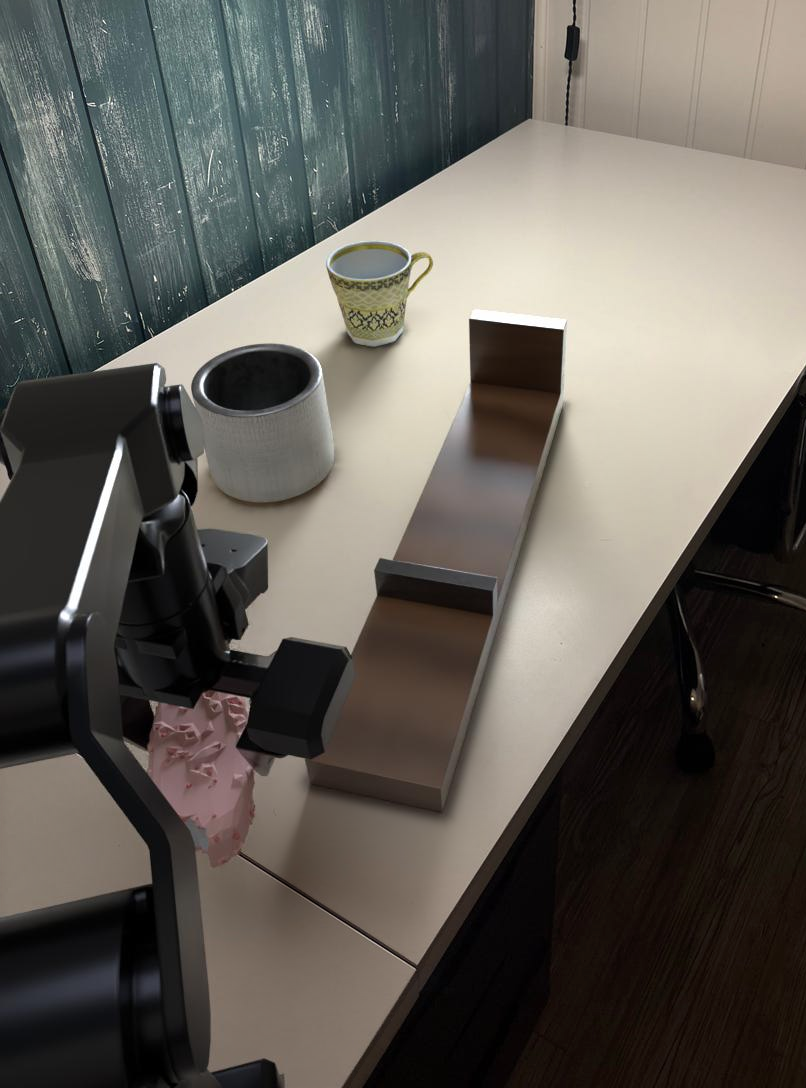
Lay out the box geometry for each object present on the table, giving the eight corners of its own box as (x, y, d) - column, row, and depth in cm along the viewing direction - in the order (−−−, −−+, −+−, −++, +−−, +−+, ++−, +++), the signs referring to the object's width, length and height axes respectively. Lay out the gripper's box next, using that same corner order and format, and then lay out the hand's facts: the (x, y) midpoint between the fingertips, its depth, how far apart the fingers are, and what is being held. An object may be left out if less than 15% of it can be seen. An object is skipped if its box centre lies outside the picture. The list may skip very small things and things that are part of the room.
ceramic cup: (349, 362, 112) (341, 287, 106) (324, 322, 119) (315, 250, 113) (450, 337, 116) (448, 263, 110) (420, 300, 123) (416, 229, 117)
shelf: (442, 812, 67) (435, 719, 60) (310, 783, 69) (288, 689, 62) (562, 405, 105) (567, 319, 98) (475, 394, 107) (473, 309, 100)
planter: (185, 478, 96) (161, 388, 89) (272, 416, 104) (256, 328, 97) (276, 525, 90) (257, 433, 83) (360, 455, 98) (350, 366, 91)
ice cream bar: (245, 627, 63) (254, 828, 51) (253, 669, 65) (263, 869, 54) (146, 642, 62) (133, 851, 50) (158, 684, 64) (148, 892, 53)
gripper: (373, 505, 53) (393, 679, 63) (75, 460, 56) (137, 632, 66) (300, 661, 45) (335, 834, 54) (-46, 597, 48) (46, 771, 58)
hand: (209, 757), depth 58 cm, fingers closed on ice cream bar, 7 cm apart
